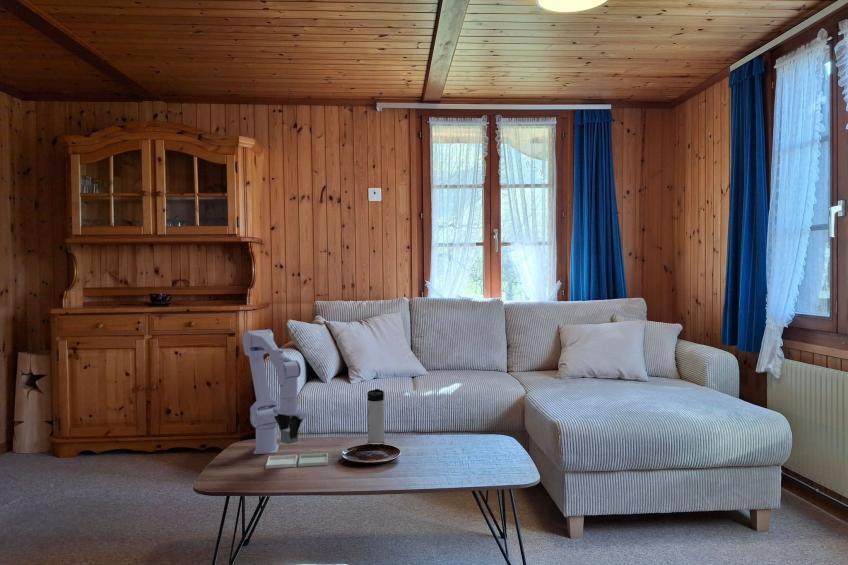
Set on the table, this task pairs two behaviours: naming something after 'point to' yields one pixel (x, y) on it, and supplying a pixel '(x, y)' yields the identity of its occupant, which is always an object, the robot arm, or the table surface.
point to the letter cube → (287, 436)
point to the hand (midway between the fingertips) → (289, 436)
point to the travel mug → (375, 416)
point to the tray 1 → (281, 461)
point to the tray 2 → (313, 459)
